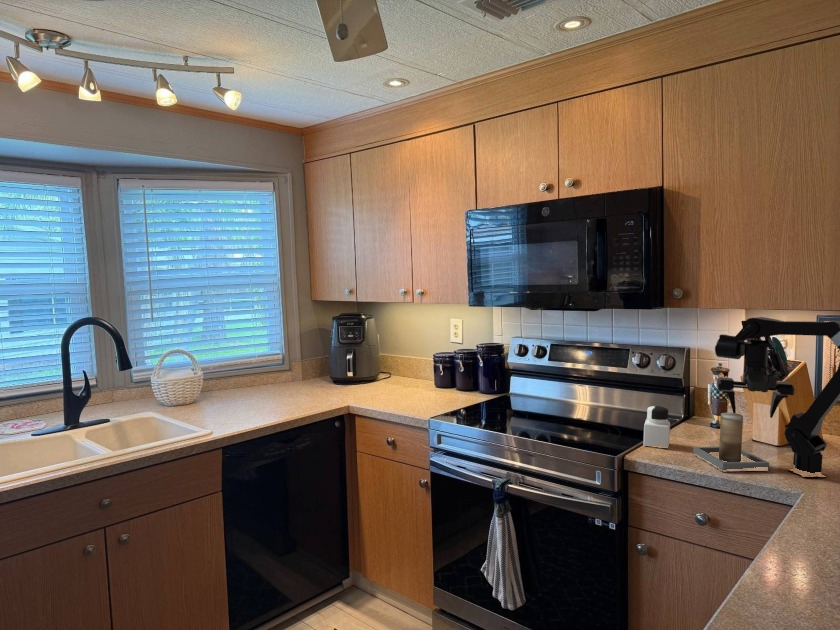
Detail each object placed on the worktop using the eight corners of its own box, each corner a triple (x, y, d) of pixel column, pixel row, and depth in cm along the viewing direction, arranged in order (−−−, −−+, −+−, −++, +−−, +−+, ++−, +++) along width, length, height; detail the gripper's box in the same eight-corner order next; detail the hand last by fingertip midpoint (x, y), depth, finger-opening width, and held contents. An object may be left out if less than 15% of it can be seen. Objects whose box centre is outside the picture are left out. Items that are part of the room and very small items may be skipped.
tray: (768, 471, 161) (769, 462, 161) (722, 472, 160) (723, 463, 160) (735, 454, 176) (735, 446, 176) (693, 455, 175) (693, 446, 175)
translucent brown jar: (745, 463, 165) (747, 417, 164) (726, 463, 165) (728, 417, 164) (733, 457, 171) (735, 412, 170) (714, 457, 170) (717, 412, 169)
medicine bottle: (669, 443, 186) (670, 406, 186) (668, 449, 180) (670, 410, 179) (645, 440, 189) (646, 403, 189) (643, 446, 183) (644, 408, 182)
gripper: (721, 363, 164) (718, 418, 165) (800, 368, 157) (796, 426, 158) (717, 357, 175) (715, 410, 176) (791, 362, 168) (788, 416, 169)
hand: (752, 415), depth 169 cm, fingers open, 9 cm apart
